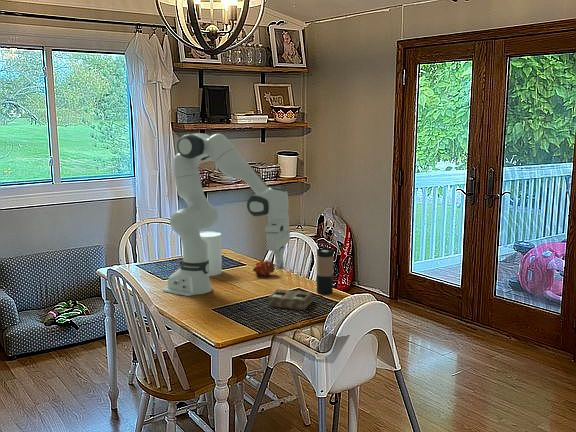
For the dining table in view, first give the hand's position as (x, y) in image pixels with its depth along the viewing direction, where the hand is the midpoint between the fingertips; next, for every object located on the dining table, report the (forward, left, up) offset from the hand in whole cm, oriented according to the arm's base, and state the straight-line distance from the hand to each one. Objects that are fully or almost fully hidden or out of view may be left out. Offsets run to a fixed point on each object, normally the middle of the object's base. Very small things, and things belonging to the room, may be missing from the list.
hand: (279, 256), depth 259 cm
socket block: (+5, 0, -20) cm, 21 cm away
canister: (-50, +35, -21) cm, 64 cm away
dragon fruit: (-21, +38, -21) cm, 48 cm away
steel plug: (0, 0, -5) cm, 5 cm away
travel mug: (+15, +20, -21) cm, 32 cm away
